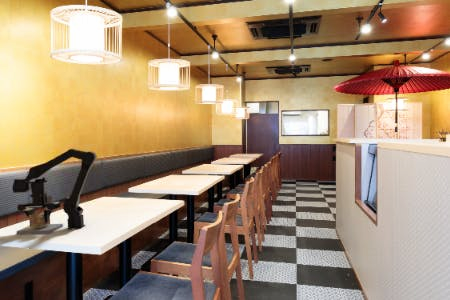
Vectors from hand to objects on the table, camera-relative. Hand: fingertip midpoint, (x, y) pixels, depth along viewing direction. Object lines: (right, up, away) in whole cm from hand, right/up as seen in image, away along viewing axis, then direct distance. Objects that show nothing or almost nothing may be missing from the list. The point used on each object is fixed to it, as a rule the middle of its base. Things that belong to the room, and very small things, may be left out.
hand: (40, 223), depth 166 cm
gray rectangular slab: (0, -4, 0) cm, 4 cm away
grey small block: (0, -2, 0) cm, 2 cm away
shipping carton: (0, -1, 0) cm, 1 cm away
